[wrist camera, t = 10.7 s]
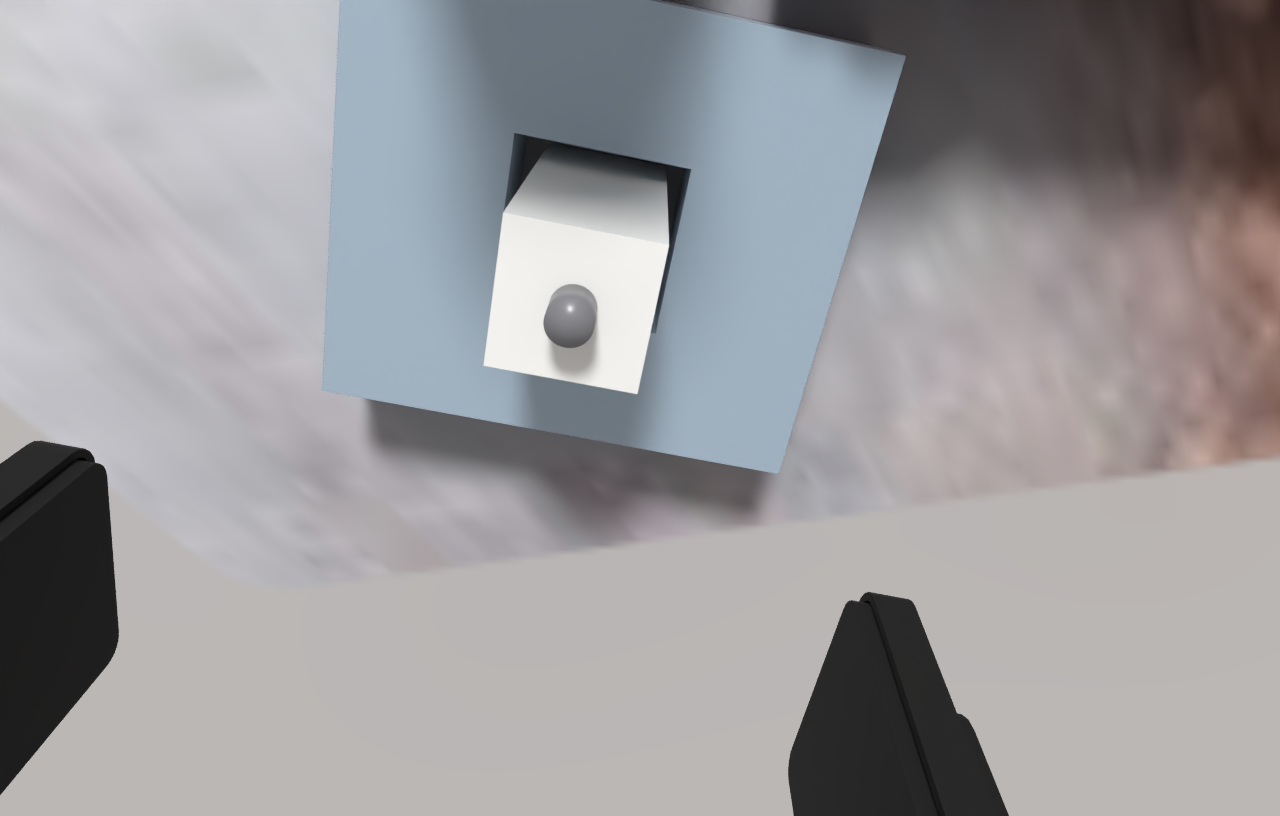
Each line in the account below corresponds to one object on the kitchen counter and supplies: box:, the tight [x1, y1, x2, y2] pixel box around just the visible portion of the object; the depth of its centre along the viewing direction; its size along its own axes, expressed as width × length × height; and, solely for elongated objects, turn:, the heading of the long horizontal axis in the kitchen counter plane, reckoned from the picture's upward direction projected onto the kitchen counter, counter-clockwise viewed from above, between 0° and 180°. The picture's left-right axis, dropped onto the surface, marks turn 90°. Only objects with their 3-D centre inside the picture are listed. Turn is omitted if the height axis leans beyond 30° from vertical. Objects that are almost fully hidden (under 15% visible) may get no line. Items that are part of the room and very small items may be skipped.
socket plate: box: [322, 0, 906, 474], centre depth 30 cm, size 16×14×4 cm
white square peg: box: [484, 143, 669, 394], centre depth 26 cm, size 4×4×11 cm
